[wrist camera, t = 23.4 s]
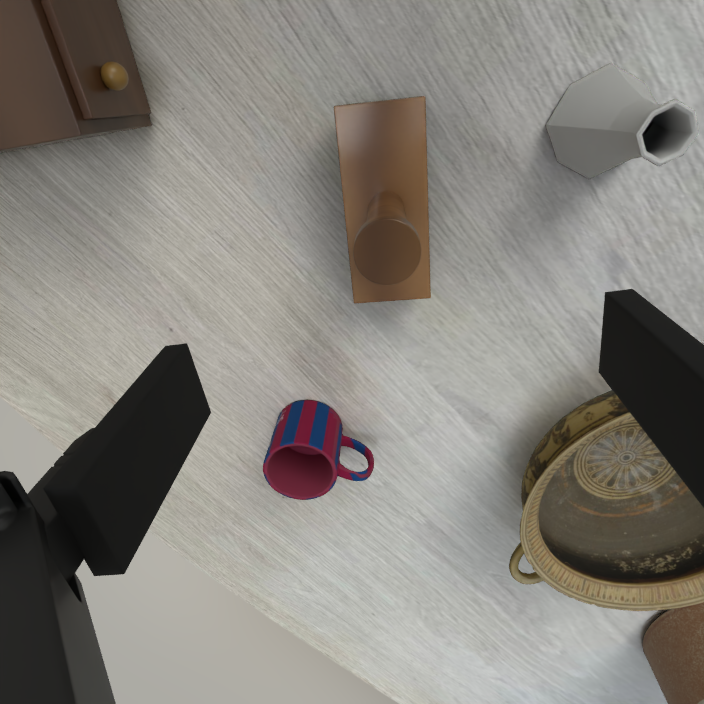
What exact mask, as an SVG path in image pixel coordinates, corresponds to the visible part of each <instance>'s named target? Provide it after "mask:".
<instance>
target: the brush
mask: <svg viewBox="0 0 704 704" xmlns="http://www.w3.org/2000/svg"><path fill="white" fill-rule="evenodd" d="M334 115H335V124H336V134H337V144H338V153H339V163H340V173H341V182H342V192H343V202H344V211H345V221H346V231H347V241H348V250H349V260H350V270H351V279H352V289H353V299H354V303H367V302H381V301H395V300H409V299H424V298H430V297H431V293H430V255H429V217H428V179H427V141H426V103H425V96H419V97H410V98H400V99H391V100H382V101H373V102H364V103H355V104H345V105H337V106H334Z"/></svg>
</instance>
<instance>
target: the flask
mask: <svg viewBox="0 0 704 704" xmlns="http://www.w3.org/2000/svg"><path fill="white" fill-rule="evenodd" d="M546 127H547V130H548V133H549V136H550V139H551V143H552V146H553V149H554V152H555V155H556V158H557V161H558V162H559V163H561V164H562V165H564V166H566V167H568V168H570V169H572V170H573V171H575V172H577V173H579V174H581V175H583V176H584V177H586V178H588V179H591V178H593V177H595V176H597V175H599V174H601V173H603V172H605V171H607V170H609V169H612V168H614V167H616V166H618V165H620V164H622V163H624V162H626V161H628V160H630V159H632V158H639V157H643V158H644V159H646V160H648V161H650V162H652V163H653V164H655V165H657V166H661V165H663V164H666V163H668V162H670V161H672V160H674V159H676V158H678V157H680V156H683V155H684V153H685V152H686V151H687V149H688V148H689V147H690V145H691V144H692V143H693V141H694V140H695V139H696V137H697V136H698V135H699V133H700V132H699V127H698V122H697V117H696V112H695V110H693V109H692V108H690V107H688V106H687V105H685V104H683V103H682V102H680V101H678V100H677V99H673V100H671V101H669V102H667V103H665V104H663V105H658V103H657V102H656V101H655V99H654V98H653V96H652V94H651V92H650V90H649V88H648V86H647V85H646V83H645V82H643V81H642V80H640V79H638V78H637V77H635V76H633V75H632V74H630V73H628V72H626V71H625V70H623V69H621V68H620V67H618V66H616V65H615V64H613V63H610V64H608V65H606V66H604V67H602V68H600V69H599V70H597V71H595V72H593V73H591V74H589V75H587V76H585V77H584V78H582V79H580V80H578V81H576V82H574V83H572V84H571V85H570V86H569V87H568V89H567V91H566V92H565V94H564V96H563V97H562V99H561V101H560V102H559V104H558V106H557V107H556V109H555V111H554V112H553V114H552V116H551V117H550V119H549V121H548V122H547V124H546Z"/></svg>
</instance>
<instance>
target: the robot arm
mask: <svg viewBox="0 0 704 704" xmlns="http://www.w3.org/2000/svg"><path fill="white" fill-rule="evenodd" d="M599 373H600V374H601V376H602V377H603V378H604V380H605V381H606V382H607V384H608V385H609V386H610V387H611V389H612V390H613V391H614V393H615V394H616V395H617V396H618V398H619V399H620V400H621V402H622V403H623V404H624V406H625V407H626V408H627V409H628V411H629V412H630V413H631V415H632V416H633V417H634V418H635V420H636V421H637V422H638V424H639V425H640V426H641V428H642V429H643V430H644V431H645V433H646V434H647V435H648V437H649V438H650V439H651V440H652V442H653V443H654V444H655V446H656V447H657V448H658V450H659V451H660V452H661V453H662V455H663V456H664V457H665V459H666V460H667V461H668V462H669V464H670V465H671V466H672V468H673V469H674V470H675V472H676V473H677V474H678V475H679V477H680V478H681V479H682V481H683V482H684V483H685V484H686V486H687V487H688V488H689V490H690V491H691V492H692V494H693V495H694V496H695V497H696V499H697V500H698V501H699V503H700V504H701V505H702V506H703V508H704V345H703V344H702V343H700V342H699V341H698V340H697V339H695V338H694V337H693V336H692V335H690V334H689V333H688V332H686V331H685V330H684V329H683V328H681V327H680V326H679V325H678V324H676V323H675V322H674V321H673V320H671V319H670V318H669V317H667V316H666V315H665V314H664V313H662V312H661V311H660V310H659V309H657V308H656V307H655V306H653V305H652V304H651V303H650V302H648V301H647V300H646V299H645V298H643V297H642V296H641V295H639V294H638V293H637V292H636V291H634V290H633V289H628V290H620V291H612V292H605V301H604V314H603V326H602V338H601V351H600V363H599ZM210 413H211V411H210V408H209V405H208V402H207V399H206V397H205V394H204V391H203V388H202V385H201V382H200V379H199V376H198V374H197V371H196V368H195V365H194V362H193V359H192V356H191V353H190V351H189V348H188V345H187V344H179V345H170V346H165V347H164V348H163V349H162V350H161V352H160V353H159V354H158V355H157V356H156V357H155V359H154V360H153V361H152V362H151V363H150V364H149V366H148V367H147V368H146V369H145V370H144V371H143V373H142V374H141V375H140V376H139V377H138V378H137V380H136V381H135V382H134V383H133V384H132V385H131V387H130V388H129V389H128V390H127V391H126V392H125V394H124V395H123V396H122V397H121V398H120V399H119V401H118V402H117V403H116V404H115V405H114V406H113V408H112V409H111V410H110V411H109V412H108V413H107V414H106V416H105V417H104V418H103V419H102V420H101V421H100V423H99V424H98V425H97V426H96V427H95V428H92V429H90V430H89V431H87V432H86V433H85V434H83V435H82V436H80V437H79V438H78V439H76V440H75V441H74V442H73V443H72V444H71V445H70V447H69V448H68V449H67V450H66V451H65V452H64V453H63V454H64V455H63V456H61V457H60V458H59V459H58V460H57V461H56V462H55V464H54V467H51V468H50V469H49V470H48V471H47V473H46V474H45V475H44V476H43V477H42V478H41V480H40V481H39V482H38V483H37V484H36V485H35V486H34V487H33V488H32V490H31V491H30V492H29V493H28V494H27V493H26V492H25V490H24V488H23V487H22V485H21V483H20V482H19V480H18V479H17V477H16V476H15V474H14V473H13V472H8V471H2V472H0V704H115V700H114V696H113V693H112V689H111V686H110V683H109V679H108V676H107V672H106V669H105V665H104V661H103V658H102V654H101V652H100V647H99V644H98V640H97V637H96V634H95V630H94V626H93V623H92V619H91V616H90V613H89V609H88V606H87V602H86V598H85V595H84V591H83V588H82V585H81V582H80V580H79V579H78V577H77V575H76V574H75V572H76V570H77V569H78V567H79V566H80V564H81V563H82V561H83V559H85V561H86V563H87V565H88V566H89V568H90V570H91V571H92V573H93V575H94V576H101V575H117V574H124V573H125V572H126V570H127V568H128V566H129V564H130V562H131V560H132V559H133V557H134V554H135V553H136V551H137V549H138V547H139V546H140V544H141V542H142V540H143V538H144V536H145V534H146V533H147V531H148V529H149V527H150V525H151V523H152V521H153V519H154V518H155V516H156V514H157V512H158V510H159V508H160V506H161V505H162V503H163V501H164V499H165V497H166V495H167V493H168V492H169V490H170V488H171V486H172V484H173V482H174V480H175V479H176V477H177V475H178V473H179V471H180V469H181V467H182V465H183V464H184V462H185V460H186V458H187V456H188V454H189V452H190V451H191V449H192V447H193V445H194V443H195V441H196V439H197V438H198V436H199V434H200V432H201V430H202V428H203V426H204V425H205V423H206V421H207V419H208V417H209V415H210Z"/></svg>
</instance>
